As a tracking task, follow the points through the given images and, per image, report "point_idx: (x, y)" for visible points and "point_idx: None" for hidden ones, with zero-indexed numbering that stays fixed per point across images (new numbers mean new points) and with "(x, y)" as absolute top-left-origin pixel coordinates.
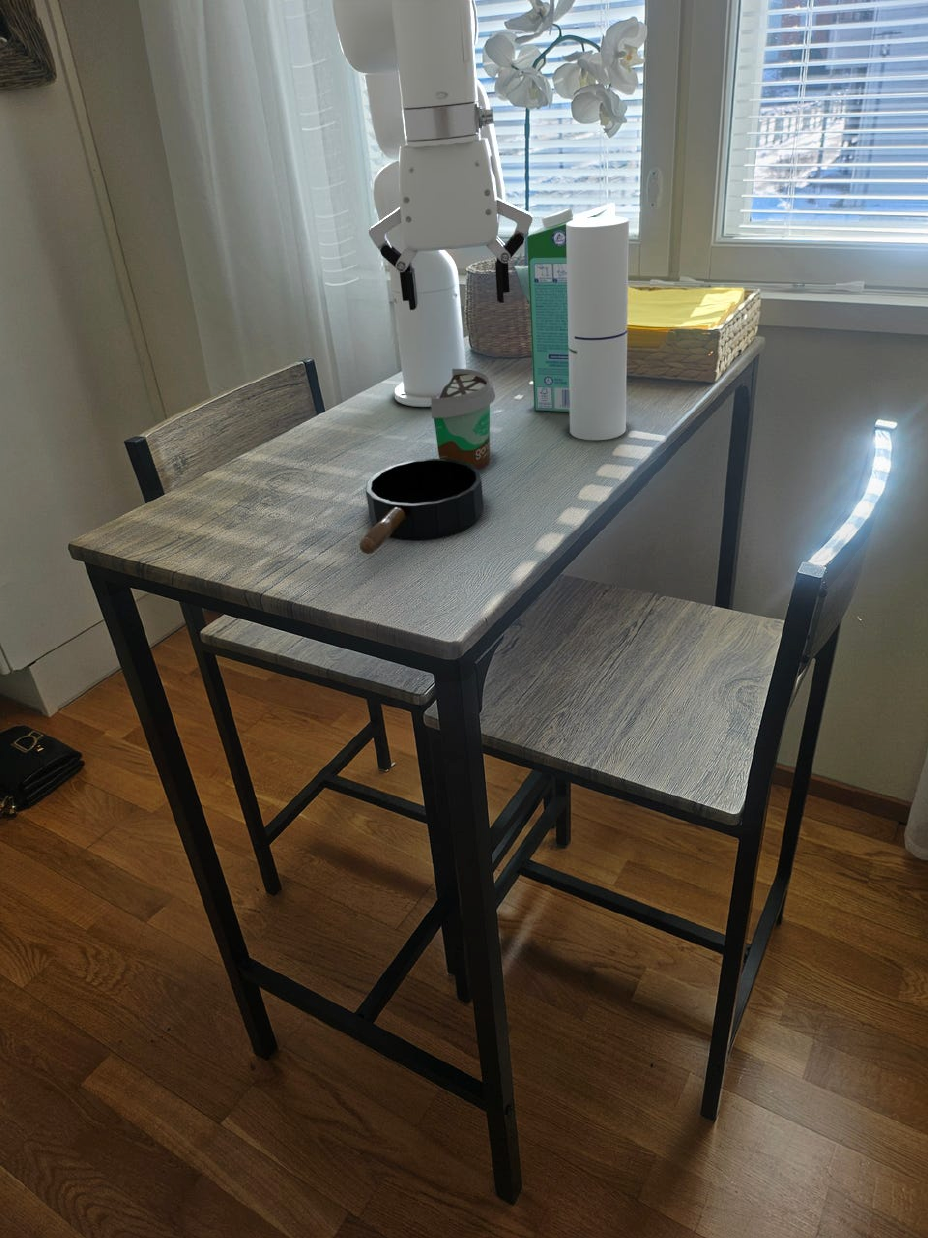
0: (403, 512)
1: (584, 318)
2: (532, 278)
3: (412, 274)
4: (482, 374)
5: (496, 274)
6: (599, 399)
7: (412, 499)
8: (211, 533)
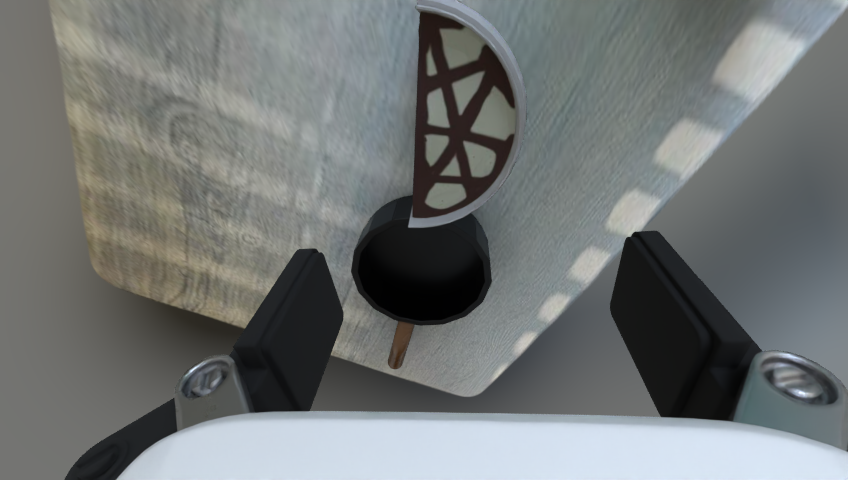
0: (413, 326)
1: None
2: None
3: (307, 406)
4: (504, 66)
5: (651, 390)
6: None
7: (400, 230)
8: (209, 269)
